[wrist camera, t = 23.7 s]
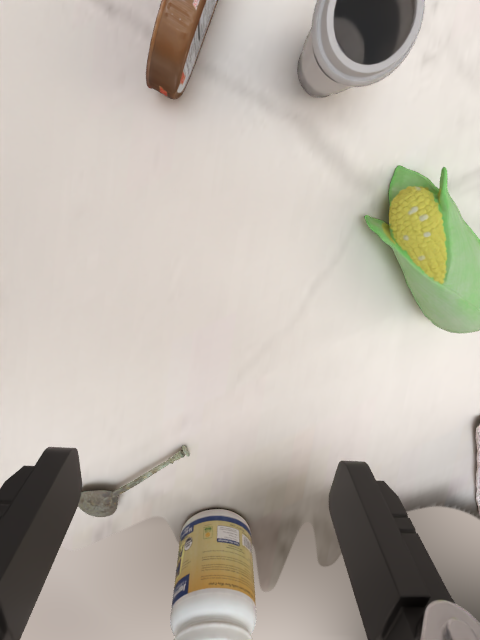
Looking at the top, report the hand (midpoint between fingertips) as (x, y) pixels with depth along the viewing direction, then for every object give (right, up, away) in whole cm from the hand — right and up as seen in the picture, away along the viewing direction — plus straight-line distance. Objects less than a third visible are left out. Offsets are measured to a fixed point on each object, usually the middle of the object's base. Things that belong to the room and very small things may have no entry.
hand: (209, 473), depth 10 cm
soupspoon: (-16, -20, +42) cm, 49 cm away
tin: (-2, +32, +19) cm, 37 cm away
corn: (+22, +13, +28) cm, 38 cm away
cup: (+9, +28, +21) cm, 36 cm away
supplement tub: (-3, -32, +48) cm, 58 cm away
